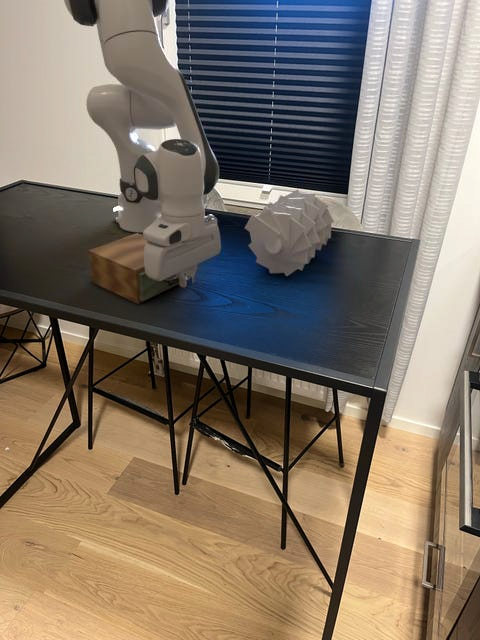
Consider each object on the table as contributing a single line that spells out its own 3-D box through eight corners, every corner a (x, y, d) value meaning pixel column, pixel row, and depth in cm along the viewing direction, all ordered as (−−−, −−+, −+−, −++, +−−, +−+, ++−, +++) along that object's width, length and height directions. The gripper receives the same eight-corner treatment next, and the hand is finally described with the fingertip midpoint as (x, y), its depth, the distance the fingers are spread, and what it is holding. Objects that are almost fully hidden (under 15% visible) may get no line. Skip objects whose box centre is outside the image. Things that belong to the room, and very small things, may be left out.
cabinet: (184, 281, 119) (183, 249, 115) (137, 304, 109) (134, 270, 105) (139, 263, 127) (137, 232, 123) (92, 282, 117) (88, 250, 113)
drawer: (203, 287, 115) (203, 262, 111) (161, 309, 105) (159, 283, 102) (144, 263, 125) (142, 239, 122) (100, 281, 116) (97, 256, 113)
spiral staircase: (315, 262, 141) (285, 295, 121) (265, 227, 143) (228, 253, 122) (351, 210, 130) (325, 236, 110) (297, 172, 132) (262, 191, 112)
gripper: (205, 209, 110) (206, 266, 117) (136, 234, 96) (142, 297, 103) (227, 215, 107) (227, 273, 114) (159, 241, 93) (164, 306, 99)
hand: (186, 284), depth 108 cm, fingers closed, pressing on drawer
